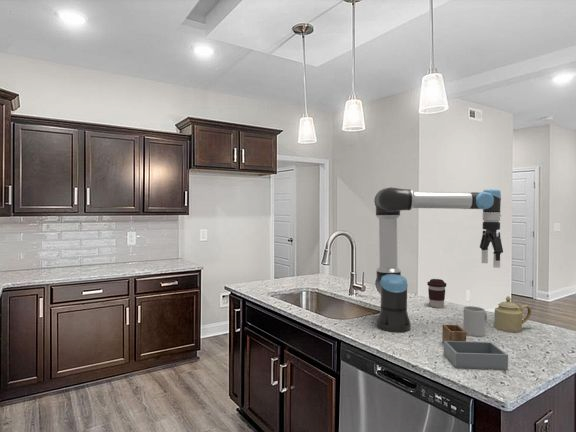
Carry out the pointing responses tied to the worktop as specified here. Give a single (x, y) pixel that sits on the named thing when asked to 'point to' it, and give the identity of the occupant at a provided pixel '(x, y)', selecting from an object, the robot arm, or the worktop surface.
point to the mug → (474, 321)
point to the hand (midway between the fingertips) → (490, 265)
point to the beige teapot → (510, 316)
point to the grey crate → (475, 355)
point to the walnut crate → (453, 333)
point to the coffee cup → (436, 293)
